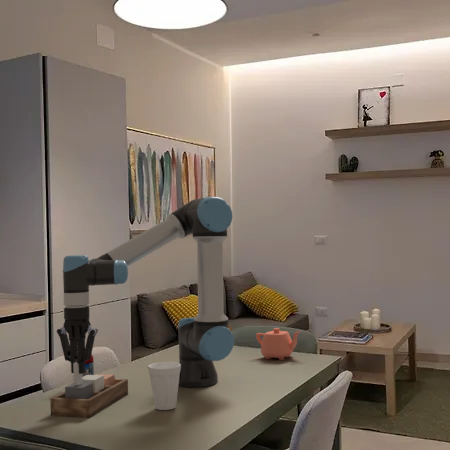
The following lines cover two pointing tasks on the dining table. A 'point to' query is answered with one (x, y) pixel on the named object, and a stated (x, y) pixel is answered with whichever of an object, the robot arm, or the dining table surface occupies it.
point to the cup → (165, 383)
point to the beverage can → (89, 367)
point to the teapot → (277, 343)
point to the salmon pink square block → (108, 379)
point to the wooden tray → (89, 401)
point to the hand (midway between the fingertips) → (78, 384)
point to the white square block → (95, 381)
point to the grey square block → (79, 391)
